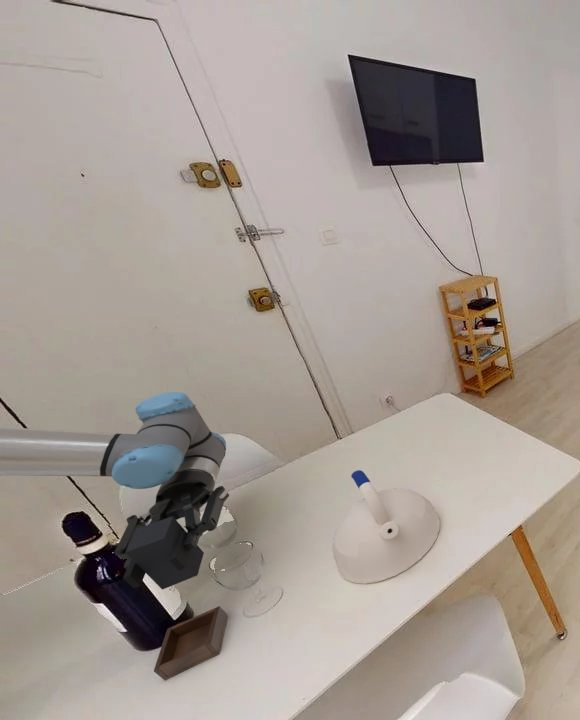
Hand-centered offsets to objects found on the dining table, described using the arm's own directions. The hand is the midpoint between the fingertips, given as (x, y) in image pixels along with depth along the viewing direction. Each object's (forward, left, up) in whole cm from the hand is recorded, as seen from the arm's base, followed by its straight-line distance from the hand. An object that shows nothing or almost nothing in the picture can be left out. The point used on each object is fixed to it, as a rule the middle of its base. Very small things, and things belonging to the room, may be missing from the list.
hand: (155, 572), depth 66 cm
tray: (-1, -2, -18) cm, 18 cm away
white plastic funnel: (+24, +17, -18) cm, 35 cm away
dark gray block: (-3, +5, -6) cm, 8 cm away
